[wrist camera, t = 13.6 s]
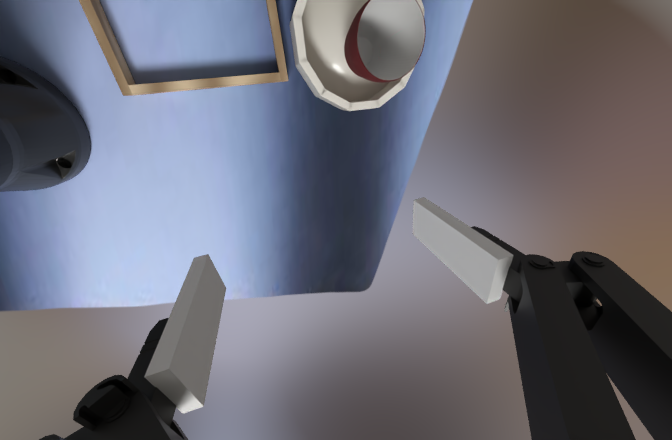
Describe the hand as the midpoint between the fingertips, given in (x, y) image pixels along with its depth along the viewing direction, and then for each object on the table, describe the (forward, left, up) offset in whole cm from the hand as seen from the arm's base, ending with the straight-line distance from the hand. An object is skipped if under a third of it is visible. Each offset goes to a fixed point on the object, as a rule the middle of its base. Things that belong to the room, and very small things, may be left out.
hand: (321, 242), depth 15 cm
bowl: (+12, +14, -27) cm, 33 cm away
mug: (+13, +14, -27) cm, 33 cm away
